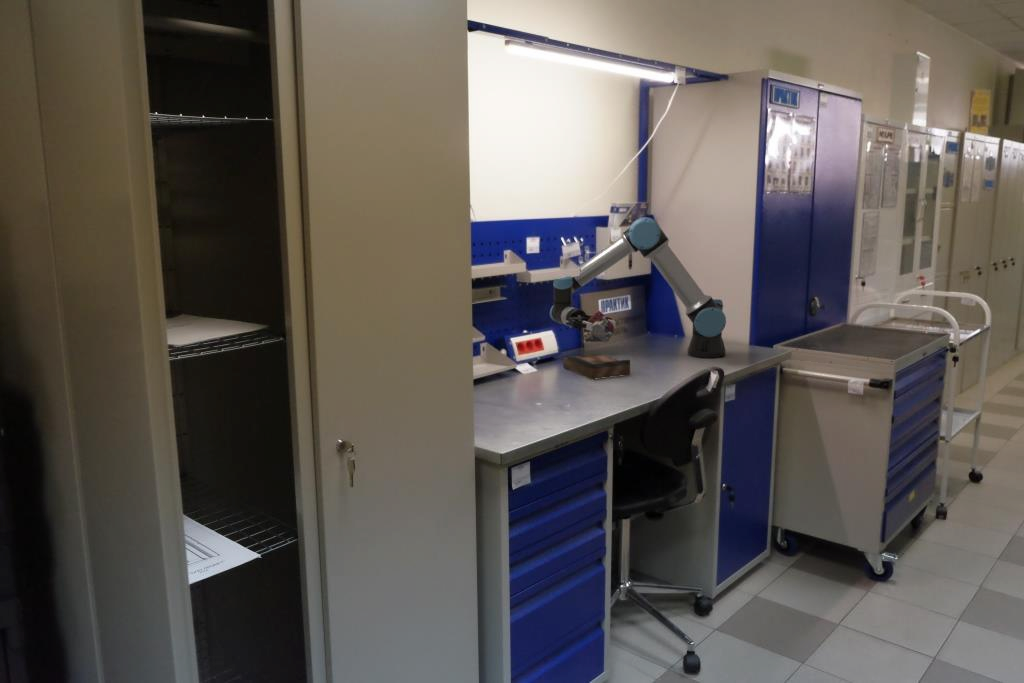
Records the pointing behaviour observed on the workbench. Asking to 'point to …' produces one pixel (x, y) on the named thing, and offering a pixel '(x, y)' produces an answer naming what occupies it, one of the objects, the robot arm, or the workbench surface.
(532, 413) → the workbench surface
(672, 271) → the robot arm
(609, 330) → the brake caliper
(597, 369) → the dock
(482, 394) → the workbench surface
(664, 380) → the workbench surface
